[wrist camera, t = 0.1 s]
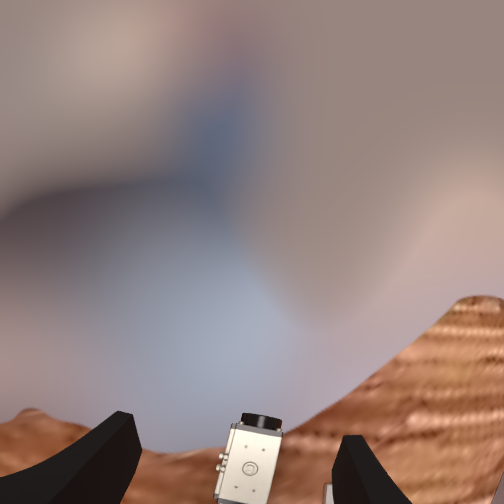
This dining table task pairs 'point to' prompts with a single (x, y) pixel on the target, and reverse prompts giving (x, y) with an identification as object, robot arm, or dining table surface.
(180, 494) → the dining table surface
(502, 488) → the game console
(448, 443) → the dining table surface
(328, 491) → the tray
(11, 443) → the dining table surface
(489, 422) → the dining table surface
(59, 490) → the robot arm
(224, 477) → the pneumatic valve
